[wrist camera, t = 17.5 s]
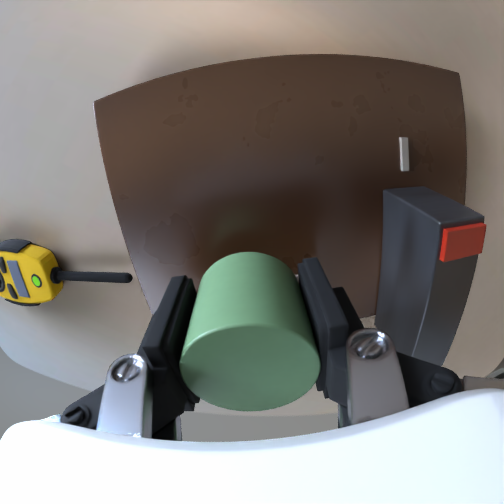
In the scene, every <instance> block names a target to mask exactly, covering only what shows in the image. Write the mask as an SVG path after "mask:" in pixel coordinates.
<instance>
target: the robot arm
mask: <svg viewBox="0 0 504 504" xmlns="http://www.w3.org/2000/svg"><path fill="white" fill-rule="evenodd" d="M298 278H299V286H300V290H301V293H302V296H303V300H304V303H305V306H306V310H307V313H308V317H309V320H310V323H311V327H312V330H313V334H314V337H315V341H316V345H317V348H318V352H319V355H320V360H321V369H320V374H319V376H318V379H317V381H316V387H317V390H318V391H323V393H324V397H325V399H326V398H330V399H331V400H333V401H335V402H337V403H338V429H334V430H329V431H324V432H318V433H313V434H307V435H301V436H294V437H285V438H277V439H268V440H256V441H238V442H189V441H182V432H181V418H180V415H181V414H182V413H184V411H194V407H195V403H199V401H200V397H198V396H197V395H195V394H194V393H193V392H192V391H191V390H190V389H189V388H188V387H187V386H186V384H185V382H184V381H183V379H182V376H181V373H180V368H179V362H180V358H181V353H182V349H183V345H184V341H185V337H186V333H187V329H188V326H189V322H190V318H191V314H192V310H193V307H194V303H195V299H196V296H197V293H196V290H195V286H194V283H193V280H192V278H188V277H187V276H186V275H183V276H175V277H172V278H171V280H170V282H169V284H168V287H167V289H166V291H165V293H164V295H163V298H162V300H161V302H160V305H159V307H158V309H157V311H155V312H154V314H153V316H152V319H151V321H150V323H149V326H148V328H147V330H146V333H145V335H144V338H143V340H142V343H141V345H140V347H139V350H138V352H137V354H127V355H123V356H121V357H119V358H118V359H116V360H115V361H114V362H113V363H112V364H111V365H110V367H109V369H108V372H107V376H106V381H105V384H104V385H103V386H101V387H99V388H98V389H96V390H94V391H93V392H91V393H89V394H88V395H86V396H84V397H82V398H81V399H79V400H77V401H76V402H74V403H72V404H71V405H69V406H68V407H67V408H66V409H65V411H64V412H63V415H62V416H61V415H60V414H57V415H55V416H52V417H49V418H46V419H43V420H40V421H36V420H35V421H27V422H21V423H17V424H15V425H13V426H11V427H10V428H9V429H8V430H7V431H6V432H5V434H4V435H3V437H2V439H1V441H0V504H504V379H493V378H482V377H472V376H464V377H463V379H459V377H458V376H457V374H455V373H454V372H453V371H452V370H449V369H447V368H444V367H441V366H438V365H435V364H432V363H429V362H426V361H423V360H420V359H417V358H414V357H411V356H408V355H406V354H403V353H400V352H397V351H396V349H395V345H394V342H393V340H392V338H391V337H390V336H389V335H388V334H387V333H386V332H384V331H382V330H380V329H376V328H364V326H363V324H362V322H361V320H360V318H359V316H358V314H357V313H356V311H355V309H354V307H353V305H352V303H351V301H350V299H349V297H348V295H347V293H346V291H345V290H344V288H343V287H336V288H332V287H331V285H330V283H329V281H328V279H327V276H326V274H325V272H324V270H323V268H322V266H321V264H320V262H319V260H318V258H317V257H314V258H307V259H303V260H302V263H298Z"/></svg>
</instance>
